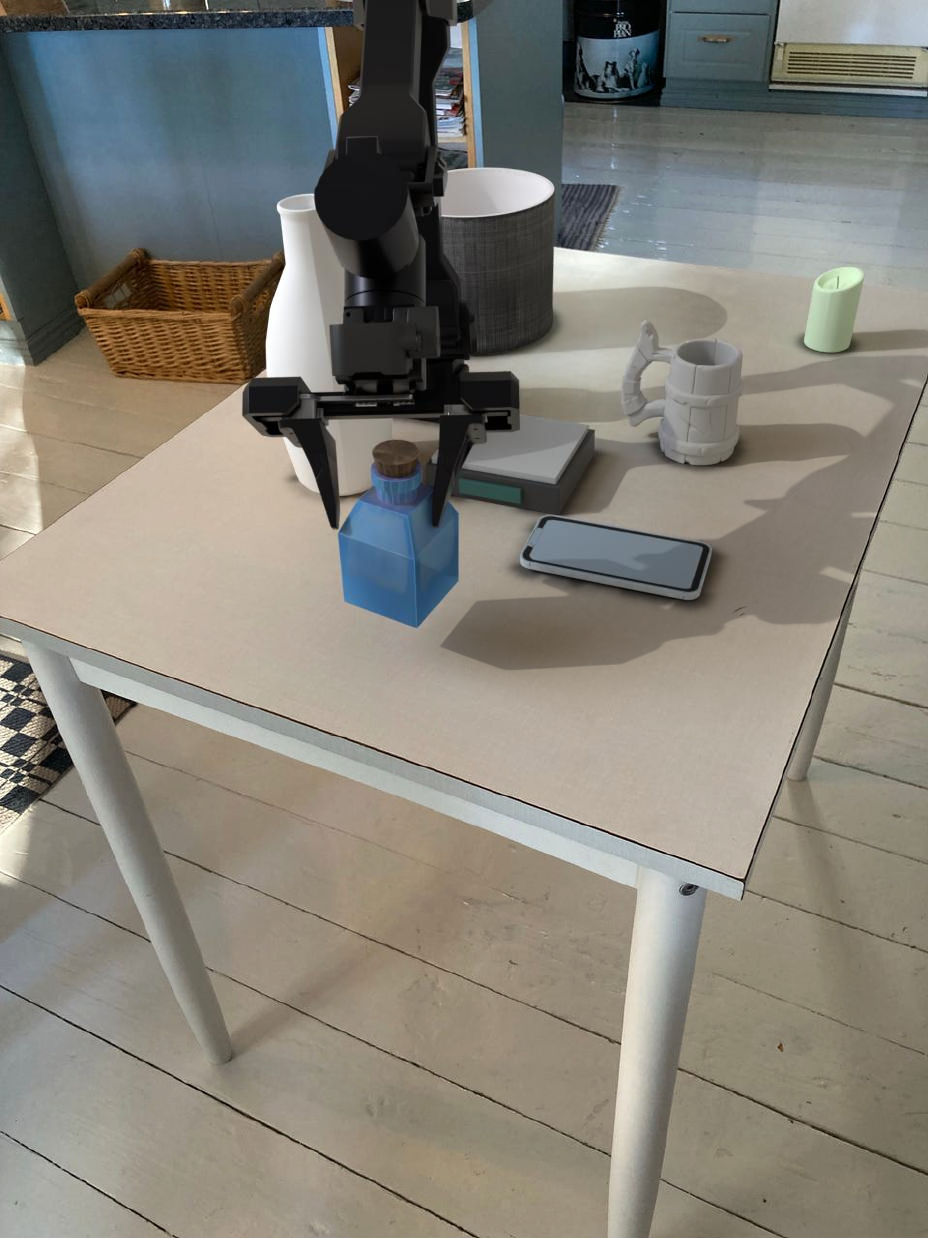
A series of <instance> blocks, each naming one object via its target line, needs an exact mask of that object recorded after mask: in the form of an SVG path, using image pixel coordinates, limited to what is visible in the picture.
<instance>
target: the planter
mask: <svg viewBox="0 0 928 1238" xmlns="http://www.w3.org/2000/svg"><path fill="white" fill-rule="evenodd" d="M447 172H448V180H447V185H446V190H445V194H444V197H441V213H442V234H443V252H444V254H445V256H446V257H447V259H448V261H449V262H450V264H451V265H452V267H453V268H454V270H455V272H456V273H457V275H458V276H459V278H460V282H461V300H468V306H469V307H470V311H471V312H472V313H473V314H474V315H475V321H476V331H477V352H476V353H474V354H472V355H471V356H474V355H475V356H477V355H480V356H481V355H493V354H499V353H500V354H501V353H506V352H511V351H515V350H518V349H521V348H524V347H527V346H531V344H534V343H536V342H538V341H539V340H541V339H542V338H544V337H545V336H546V335H547V334H548V333H549V332H550V330H551V329H552V328H553V325H554V269H555V268H554V266H555V265H554V264H555V263H554V261H555V258H554V257H555V253H554V252H555V204H556V202H555V201H556V200H555V199H556V187H555V185H554V184H553V182H552V181H551V180H550V179H548V178H546V177H545V176H543V175H540V174H537V173H535V172H531V171H527V170H523V169H517V168H515V169H514V168H507V167H470V168H469V167H467V168H458V169H457V168H456V169H451V170H447Z"/></svg>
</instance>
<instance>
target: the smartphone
mask: <svg viewBox="0 0 928 1238" xmlns="http://www.w3.org/2000/svg"><path fill="white" fill-rule="evenodd" d="M712 553H713V547H712V546H711V545H710V544H709V543H707V542H704V541H701V540H700V541H699V540H694V539H689V538H683V537H678V536H673V535H667V534H662V533H655V532H650V531H645V530H644V531H643V530H639V529H633V528H628V527H622V526H617V525H612V524H611V525H610V524H606V523H600V522H595V521H589V520H584V519H579V518H573V517H567V516H561V515H557V514H545V515H542V516H540V517H539V518H538V520H537V522H536V524H535V525H534V528H533V529H532V531H531V533H530V534H529V537H528V539H527V540H526V542H525V545H524V546H523V548H522V550H521V551H520V553H519V563H520V565H521V566H522V567H523V568H525V569H528V570H533V571H538V572H543V573H548V574H553V575H559V576H562V577H563V576H564V577H568V578H574V579H578V580H583V581H589V582H593V583H598V584H603V585H609V586H614V587H619V588H624V589H628V590H633V591H639V592H644V593H649V594H654V595H659V596H663V597H670V598H675V599H679V600H684V601H692V600H693V601H694V600H696V599H697V598H699V597H700V595H701V592H702V589H703V585H704V581H705V579H706V575H707V571H708V568H709V564H710V562H711V559H712Z"/></svg>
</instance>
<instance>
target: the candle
mask: <svg viewBox="0 0 928 1238" xmlns="http://www.w3.org/2000/svg"><path fill="white" fill-rule="evenodd" d="M864 279H865V272H864V271H863V270H862V269H861V268H859V267H855V266H842V267H837V268H833V269H830V270H827V271H825V272H823V273H822V274H820V275H819V276H818V277H817V278H816V279H815V281H814V283H813V287H812V293H811V299H810V304H809V310H808V316H807V321H806V327H805V333H804V338H803V343H804V345H805V346H806V347H807V348H809V349H810V350H812V351H816V352H819V353H826V354H834V353H839V352H840V353H841V352H843V351H846V350H847V349H848V348H849V347H850V345H851V342H852V336H853V333H854V332H853V331H854V327H855V322H856V318H857V313H858V307H859V303H860V299H861V293H862V289H863V285H864Z"/></svg>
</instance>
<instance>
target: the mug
mask: <svg viewBox="0 0 928 1238" xmlns="http://www.w3.org/2000/svg"><path fill="white" fill-rule="evenodd" d="M659 343H660V341H659V333H658V331H657V329H656V328H655V326H654V324H653V323H652V322H651V321H650V320H649V319H647V318H645V319H643V321H642V322H641V324H640V334H639V337H638V341H637V342H636V344H635V348H634V349H633V352H632V354H631V356H630V358H629V360H628V363H627V365H626V368H625V371H624V374H623V376H622V378H621V385H620V386H621V402H620V403H621V408H622V411H623V414H624V415H626V416H627V420H628V423H629V426H631V427H633V428H636V427H638V426H640V425H641V424H642V423H644V421H646V420H649V419H653V418H662V419H660V421H659V424H658V429H657V436H658V439H659V441H660V442H659V447H660V449H661V452H662V453H664V455H665V457H667V458H669V459H670V460H673V461H674V462H676V463H679V464H685V463H688V464H690V465H691V466H710V465H715V464H718V463H720V462H724V461H726V460H727V459H729V458H730V457H731V455H732V454H733V453H734V449H735V446H737V443H738V442H739V438H740V427H739V425H738V410H739V402H740V401H739V399H740V398H741V397H742V396H743V393H744V391H743V390H744V382H743V380H742V378H741V377H742V368H743V357H744V356H743V355H744V354H743V351H742V349H741V348H740V347H738V346H737V345H735V344H734V343H731V342H729V341H726V340H723V339H716V338H708V337H707V338H693V339H687V340H686V341H682V342H679V343H678V344H676V345H675V346H674V347H673V349H672V348H668V347H660V345H659ZM652 362H661V363H666V364H669V372H668V374H667V375H666V377H665V383H664V391H665V393H666V395H665V398H660V399H654V400H651V401H648V398H646V397H645V395H644V393H643V391H642V390H641V382H642V374H643V372H644V371H646V370H647V368H648V367H649V366H650V365H651V364H652Z"/></svg>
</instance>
